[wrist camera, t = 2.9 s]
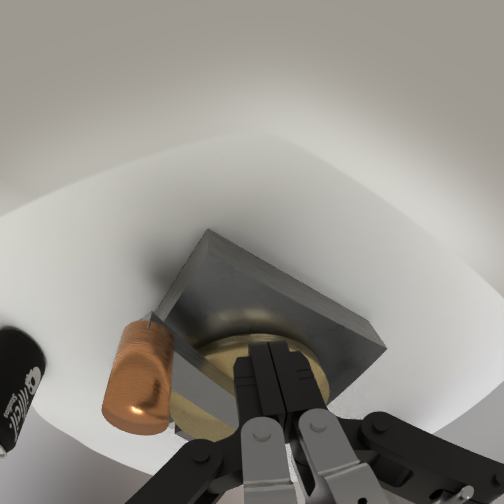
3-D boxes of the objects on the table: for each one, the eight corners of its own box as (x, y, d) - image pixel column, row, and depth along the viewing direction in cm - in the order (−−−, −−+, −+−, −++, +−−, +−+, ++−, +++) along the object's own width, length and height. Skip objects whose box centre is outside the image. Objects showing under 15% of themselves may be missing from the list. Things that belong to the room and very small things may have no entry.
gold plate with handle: (343, 386, 24) (377, 460, 17) (226, 444, 26) (234, 514, 19) (214, 238, 17) (220, 334, 9) (76, 344, 18) (42, 433, 11)
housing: (368, 321, 27) (388, 350, 23) (262, 422, 31) (268, 451, 28) (207, 228, 21) (208, 255, 17) (119, 373, 26) (112, 407, 22)
